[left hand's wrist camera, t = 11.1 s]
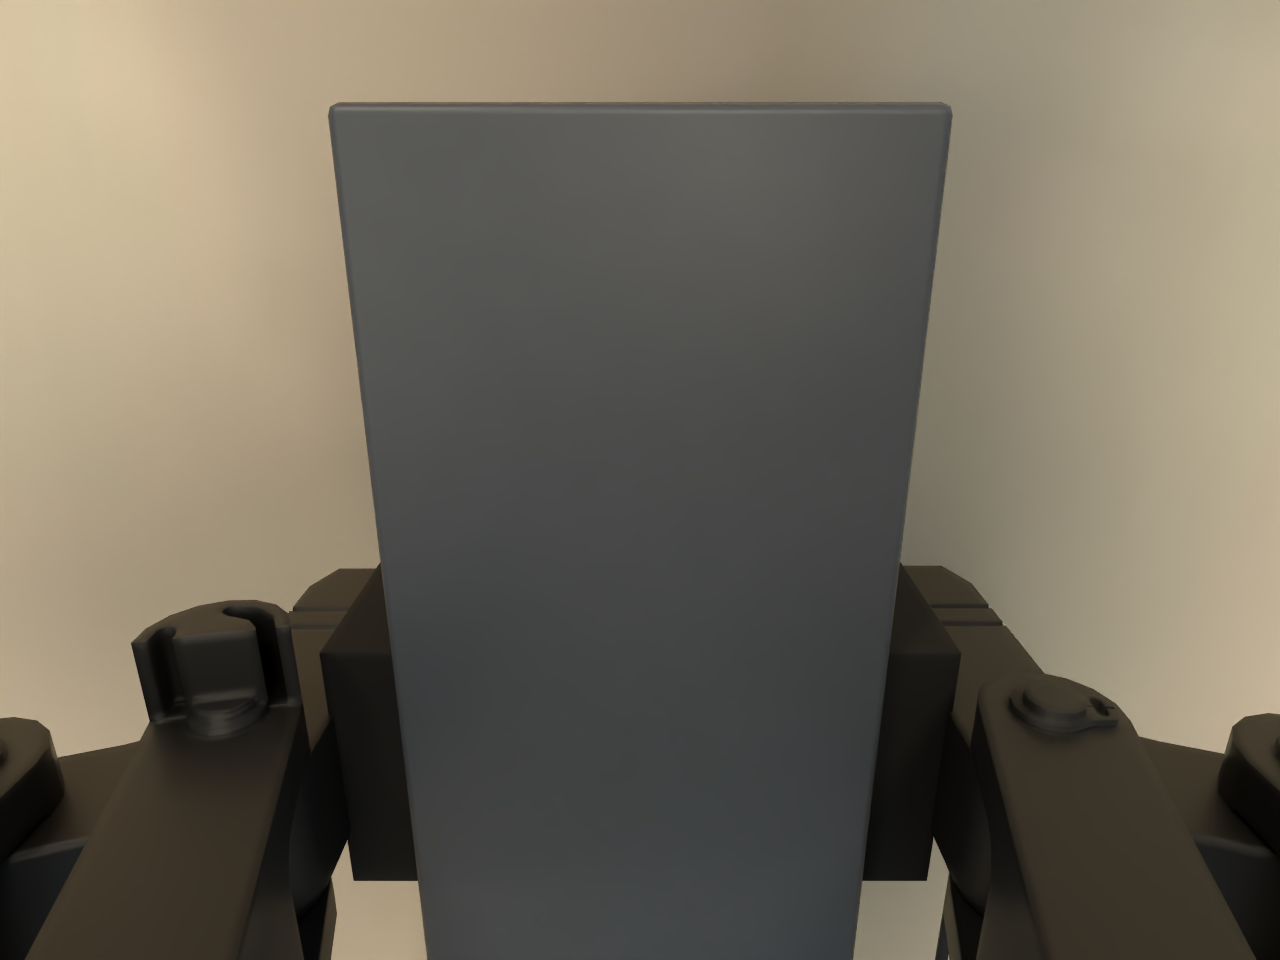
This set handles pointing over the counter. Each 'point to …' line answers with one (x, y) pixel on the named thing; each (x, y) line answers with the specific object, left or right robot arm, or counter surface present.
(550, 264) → the bar
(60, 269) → the counter surface
